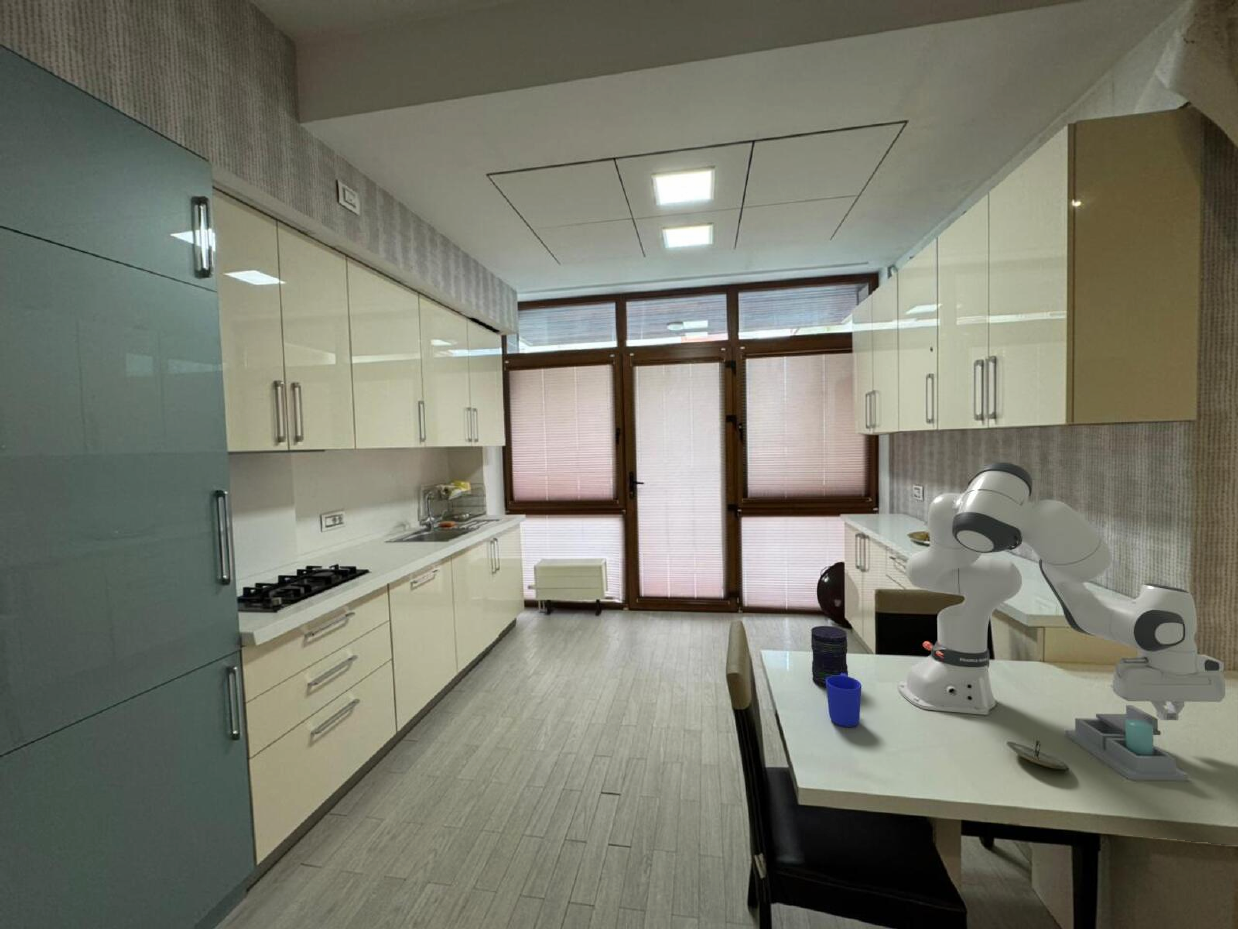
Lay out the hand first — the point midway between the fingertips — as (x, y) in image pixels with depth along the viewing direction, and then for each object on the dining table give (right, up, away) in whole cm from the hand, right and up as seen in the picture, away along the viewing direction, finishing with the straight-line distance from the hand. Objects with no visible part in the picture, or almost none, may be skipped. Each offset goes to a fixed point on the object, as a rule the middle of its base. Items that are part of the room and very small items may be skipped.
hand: (1167, 719), depth 112 cm
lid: (-33, -8, -5) cm, 34 cm away
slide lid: (-8, -2, +1) cm, 8 cm away
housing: (-13, -7, -3) cm, 15 cm away
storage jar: (-60, -8, +36) cm, 70 cm away
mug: (-64, -8, +16) cm, 67 cm away
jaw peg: (-13, -5, -7) cm, 16 cm away
